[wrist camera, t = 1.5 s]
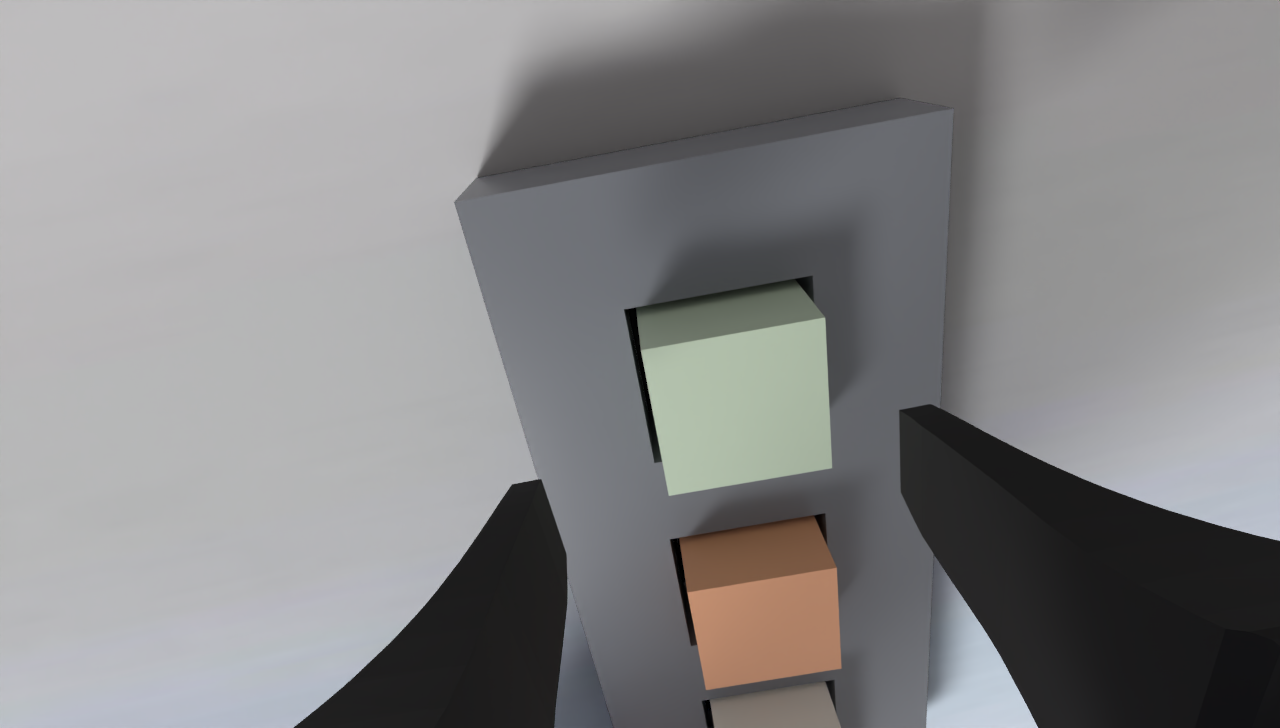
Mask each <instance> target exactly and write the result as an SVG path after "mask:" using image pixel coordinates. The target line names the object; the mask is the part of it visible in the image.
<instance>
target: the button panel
mask: <svg viewBox="0 0 1280 728" xmlns="http://www.w3.org/2000/svg"><path fill="white" fill-rule="evenodd" d="M953 113H954V108H949V107H944V106H939V105H934V104H929V103H924V102H919V101H914V100H909V99H904V98H898V99H893V100H888V101H883V102H877V103H872V104H867V105H861V106H856V107H851V108H845V109H840V110H835V111H830V112H824V113H819V114H814V115H808V116H803V117H798V118H792V119H787V120H782V121H777V122H771V123H766V124H761V125H755V126H750V127H745V128H739V129H734V130H729V131H724V132H718V133H713V134H708V135H702V136H697V137H692V138H686V139H681V140H676V141H671V142H665V143H660V144H655V145H649V146H644V147H639V148H633V149H628V150H623V151H618V152H612V153H607V154H602V155H596V156H591V157H586V158H580V159H575V160H570V161H565V162H559V163H554V164H549V165H543V166H538V167H533V168H527V169H522V170H517V171H512V172H506V173H501V174H496V175H490V176H485V177H480V178H476V179H475V180H474V181H473V182H472V183H471V184H470V185H469V187H468V188H467V189H466V190H465V191H464V192H463V193H462V194H461V195H460V196H459V197H458V199H457V200H456V201H455V202H454V203H455V206H456V210H457V213H458V216H459V220H460V223H461V226H462V230H463V233H464V236H465V239H466V243H467V246H468V249H469V253H470V256H471V259H472V263H473V266H474V269H475V272H476V276H477V279H478V282H479V286H480V289H481V292H482V296H483V299H484V302H485V305H486V309H487V312H488V315H489V319H490V322H491V325H492V329H493V332H494V335H495V338H496V342H497V345H498V348H499V352H500V355H501V358H502V362H503V365H504V368H505V371H506V375H507V378H508V381H509V385H510V388H511V391H512V395H513V398H514V401H515V404H516V408H517V411H518V414H519V418H520V421H521V424H522V428H523V431H524V434H525V437H526V441H527V444H528V447H529V451H530V454H531V457H532V461H533V464H534V467H535V470H536V474H537V477H538V480H539V479H542V482H543V485H544V488H545V491H546V494H547V497H548V500H549V503H550V506H551V509H552V512H553V515H554V518H555V521H556V524H557V527H558V530H559V533H560V536H561V539H562V542H563V545H564V548H565V551H566V554H567V576H568V579H569V583H570V586H571V589H572V592H573V596H574V599H575V602H576V606H577V609H578V612H579V616H580V619H581V622H582V625H583V629H584V632H585V635H586V639H587V642H588V645H589V649H590V652H591V655H592V658H593V662H594V665H595V668H596V672H597V675H598V678H599V682H600V685H601V688H602V691H603V695H604V698H605V701H606V705H607V708H608V711H609V715H610V718H611V721H612V724H613V728H714V723H713V717H712V711H707V709H706V704H705V700H709V699H716V698H722V697H728V696H735V695H741V694H747V693H753V692H760V691H766V690H772V689H779V688H785V687H791V686H797V685H804V684H810V683H816V682H823V681H825V682H826V685H827V688H828V691H829V694H830V697H831V700H832V702H833V705H834V708H835V711H836V714H837V717H838V720H839V723H840V726H841V728H926V714H927V692H928V669H929V647H930V625H931V603H932V580H933V558H934V554H933V552H932V551H931V549H930V547H929V546H928V544H927V543H926V541H925V540H924V538H923V537H922V535H921V533H920V531H919V529H918V527H917V525H916V523H915V521H914V519H913V517H912V515H911V513H910V511H909V509H908V507H907V505H906V502H905V500H904V498H903V496H902V494H901V488H900V430H899V410H901V409H907V408H912V407H917V406H922V405H927V404H932V405H934V406H936V407H938V408H940V402H941V380H942V358H943V336H944V313H945V291H946V269H947V247H948V224H949V202H950V180H951V158H952V135H953ZM790 279H795V280H796V281H797V283H798V284H799V285H800V286H801V288H802V289H803V290H804V291H805V293H806V294H807V295H808V296H809V298H810V299H811V300H812V301H813V303H814V304H815V305H816V306H817V308H818V309H819V310H820V311H821V313H822V314H823V315H824V317H825V323H826V344H827V366H828V388H829V409H830V431H831V453H832V468H830V469H824V470H818V471H813V472H807V473H801V474H795V475H789V476H783V477H777V478H771V479H766V480H760V481H754V482H748V483H742V484H736V485H730V486H724V487H719V488H713V489H707V490H701V491H695V492H689V493H683V494H677V495H671V496H669V494H668V489H667V484H666V478H665V473H664V468H663V463H662V458H661V452H660V447H659V442H658V437H657V432H656V426H655V421H654V416H653V411H648V407H647V402H646V397H645V392H644V387H643V382H642V376H641V371H640V366H639V361H638V356H637V351H636V346H635V341H634V336H633V330H632V325H631V320H630V315H629V310H628V309H630V308H635V307H641V306H646V305H652V304H657V303H663V302H668V301H674V300H679V299H685V298H691V297H696V296H702V295H707V294H713V293H718V292H724V291H729V290H735V289H740V288H746V287H752V286H757V285H763V284H768V283H774V282H779V281H785V280H790ZM811 515H814V517H815V519H816V522H817V524H818V526H819V528H820V531H821V533H822V535H823V538H824V540H825V542H826V544H827V547H828V549H829V551H830V553H831V556H832V558H833V560H834V563H835V565H836V567H837V583H838V605H839V626H840V648H841V669H835V670H829V671H823V672H817V673H810V674H804V675H798V676H792V677H785V678H779V679H773V680H767V681H760V682H754V683H748V684H741V685H735V686H729V687H723V688H716V689H710V690H706V687H705V682H704V676H703V671H702V666H701V661H700V656H699V650H698V645H697V640H696V635H695V630H694V624H693V619H692V614H691V609H690V604H689V598H688V593H687V587H686V582H682V581H681V576H680V571H679V566H678V561H677V556H676V550H675V545H674V540H673V539H674V538H680V537H686V536H692V535H698V534H704V533H710V532H716V531H722V530H728V529H734V528H740V527H746V526H752V525H758V524H764V523H770V522H776V521H781V520H787V519H793V518H799V517H805V516H811Z"/></svg>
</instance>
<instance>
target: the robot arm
mask: <svg viewBox="0 0 1280 728" xmlns="http://www.w3.org/2000/svg"><path fill="white" fill-rule="evenodd" d="M899 430H900V488H901V494H902V496H903V498H904V500H905V502H906V505H907V507H908V509H909V511H910V513H911V515H912V517H913V519H914V521H915V523H916V525H917V527H918V529H919V531H920V533H921V535H922V537H923V538H924V540H925V541H926V543H927V544H928V546H929V547H930V549H931V551H932V552H933V554H934V555H935V557H936V558H937V560H938V561H939V563H940V564H941V566H942V567H943V569H944V570H945V572H946V573H947V575H948V576H949V578H950V579H951V581H952V582H953V584H954V585H955V587H956V588H957V590H958V591H959V593H960V594H961V595H962V597H963V598H964V600H965V601H966V603H967V604H968V606H969V607H970V609H971V610H972V612H973V613H974V615H975V616H976V618H977V619H978V621H979V622H980V624H981V625H982V627H983V628H984V630H985V631H986V633H987V634H988V636H989V638H990V639H991V641H992V643H993V644H994V646H995V648H996V649H997V651H998V652H999V654H1000V656H1001V658H1002V660H1003V661H1004V663H1005V665H1006V667H1007V669H1008V671H1009V673H1010V675H1011V676H1012V678H1013V680H1014V682H1015V684H1016V686H1017V688H1018V689H1019V691H1020V693H1021V695H1022V697H1023V699H1024V701H1025V703H1026V704H1027V706H1028V708H1029V710H1030V712H1031V714H1032V716H1033V718H1034V720H1035V722H1036V724H1037V726H1038V728H1280V541H1277V540H1273V539H1269V538H1265V537H1260V536H1256V535H1252V534H1248V533H1245V532H1241V531H1237V530H1233V529H1229V528H1226V527H1222V526H1218V525H1215V524H1212V523H1208V522H1205V521H1202V520H1198V519H1195V518H1192V517H1188V516H1185V515H1182V514H1178V513H1175V512H1171V511H1168V510H1165V509H1162V508H1159V507H1156V506H1153V505H1150V504H1147V503H1144V502H1142V501H1139V500H1136V499H1134V498H1131V497H1128V496H1125V495H1123V494H1120V493H1117V492H1115V491H1112V490H1109V489H1106V488H1104V487H1101V486H1099V485H1096V484H1094V483H1091V482H1089V481H1086V480H1084V479H1082V478H1079V477H1077V476H1075V475H1073V474H1070V473H1068V472H1066V471H1064V470H1061V469H1059V468H1057V467H1055V466H1052V465H1050V464H1048V463H1046V462H1044V461H1042V460H1039V459H1037V458H1035V457H1033V456H1031V455H1029V454H1027V453H1025V452H1023V451H1021V450H1019V449H1017V448H1015V447H1013V446H1011V445H1009V444H1007V443H1005V442H1003V441H1001V440H999V439H997V438H995V437H993V436H991V435H990V434H988V433H986V432H984V431H982V430H980V429H978V428H976V427H974V426H973V425H971V424H969V423H967V422H965V421H963V420H961V419H959V418H957V417H956V416H954V415H952V414H950V413H948V412H946V411H944V410H942V409H940V408H938V407H936V406H934V405H932V404H927V405H922V406H917V407H912V408H907V409H901V410H899ZM566 610H567V554H566V551H565V548H564V545H563V542H562V539H561V536H560V533H559V530H558V527H557V524H556V521H555V518H554V515H553V512H552V509H551V506H550V503H549V500H548V497H547V494H546V491H545V488H544V485H543V482H542V479H539V480H533V481H528V482H523V483H518V484H513V485H512V486H511V487H510V488H509V490H508V491H507V493H506V494H505V496H504V497H503V499H502V500H501V501H500V503H499V505H498V506H497V508H496V509H495V511H494V512H493V514H492V515H491V517H490V518H489V520H488V521H487V523H486V524H485V526H484V527H483V529H482V530H481V532H480V533H479V535H478V536H477V537H476V539H475V540H474V542H473V543H472V545H471V546H470V547H469V549H468V550H467V552H466V553H465V555H464V556H463V557H462V559H461V560H460V562H459V563H458V564H457V566H456V567H455V568H454V569H453V571H452V572H451V573H450V575H449V576H448V577H447V579H446V580H445V581H444V582H443V584H442V585H441V586H440V588H439V589H438V590H437V591H436V593H435V594H434V595H433V596H432V598H431V599H430V600H429V601H428V602H427V604H426V605H425V606H424V607H423V608H422V609H421V610H420V612H419V613H418V614H417V615H416V616H415V617H414V618H413V619H412V620H411V621H410V623H409V624H408V625H407V626H406V627H405V628H404V629H403V630H402V631H401V632H400V633H399V634H398V635H397V636H396V637H395V639H394V640H393V641H392V642H391V643H390V644H389V645H388V646H386V647H385V648H384V649H383V650H382V651H381V652H380V653H379V654H378V655H377V656H376V657H375V658H374V659H373V660H372V661H371V662H370V663H369V664H367V665H366V666H365V667H364V668H363V669H362V670H361V671H360V672H359V673H358V674H357V675H356V676H355V677H354V678H353V679H352V680H351V681H349V682H348V683H347V684H346V685H345V686H344V687H343V688H341V689H340V690H339V691H338V692H337V693H335V694H334V695H333V696H332V697H331V698H330V699H328V700H327V701H326V702H325V703H324V704H322V705H321V706H320V707H319V708H318V709H316V710H315V711H314V712H313V713H311V714H310V715H309V716H308V717H306V718H305V719H304V720H303V721H301V722H300V723H299V724H298V725H296V726H295V727H294V728H554V721H555V707H556V699H557V690H558V681H559V673H560V664H561V655H562V647H563V638H564V629H565V619H566Z"/></svg>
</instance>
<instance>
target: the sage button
mask: <svg viewBox="0 0 1280 728" xmlns="http://www.w3.org/2000/svg"><path fill="white" fill-rule="evenodd" d="M636 313H637V321H638V330H639V338H640V347H641V353H642V359H643V364H644V369H645V374H646V379H647V385H648V390H649V395H650V400H651V405H652V411H653V416H654V421H655V426H656V432H657V437H658V442H659V447H660V452H661V458H662V463H663V468H664V473H665V478H666V484H667V489H668V494H669V496H671V495H677V494H683V493H689V492H695V491H701V490H707V489H713V488H719V487H724V486H730V485H736V484H742V483H748V482H754V481H760V480H766V479H771V478H777V477H783V476H789V475H795V474H801V473H807V472H813V471H818V470H824V469H830V468H832V453H831V431H830V409H829V388H828V366H827V344H826V323H825V317H824V315H823V314H822V313H821V311H820V310H819V309H818V308H817V306H816V305H815V304H814V303H813V301H812V300H811V299H810V298H809V296H808V295H807V294H806V293H805V291H804V290H803V289H802V288H801V286H800V285H799V284H798V283H797V281H796V280H795V279H790V280H785V281H779V282H774V283H768V284H763V285H757V286H752V287H746V288H740V289H735V290H729V291H724V292H718V293H713V294H707V295H702V296H696V297H691V298H685V299H679V300H674V301H668V302H663V303H657V304H652V305H646V306H641V307H636Z"/></svg>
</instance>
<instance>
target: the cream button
mask: <svg viewBox="0 0 1280 728" xmlns="http://www.w3.org/2000/svg"><path fill="white" fill-rule="evenodd" d="M710 704H711V710H712V717H713V723H714V728H841V726H840V723H839V720H838V717H837V714H836V711H835V708H834V705H833V702H832V700H831V697H830V694H829V691H828V688H827V685H826V682H825V681H823V682H816V683H810V684H804V685H797V686H791V687H785V688H779V689H772V690H766V691H760V692H753V693H747V694H741V695H735V696H728V697H722V698H716V699H710Z"/></svg>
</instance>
